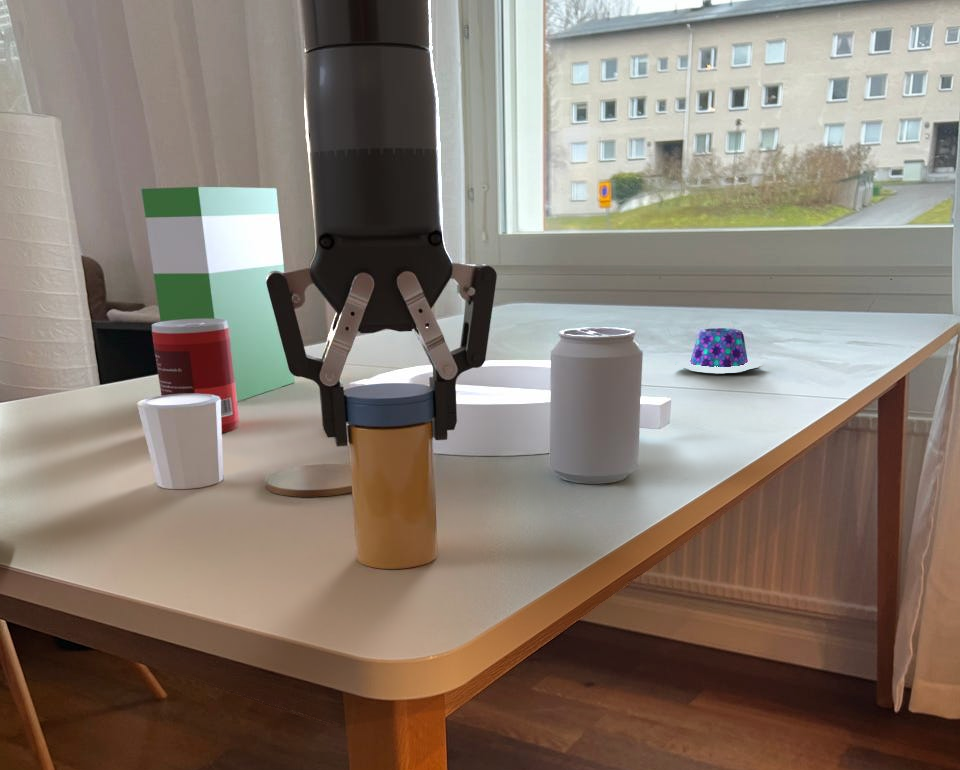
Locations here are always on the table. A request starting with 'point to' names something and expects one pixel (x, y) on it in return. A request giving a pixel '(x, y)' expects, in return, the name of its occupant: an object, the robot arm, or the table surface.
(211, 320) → the canned food
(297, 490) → the coaster
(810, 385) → the table surface
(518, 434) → the white circle with bar
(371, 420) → the lid
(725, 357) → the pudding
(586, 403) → the can
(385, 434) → the jar
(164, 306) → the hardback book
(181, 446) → the white faceted cup
